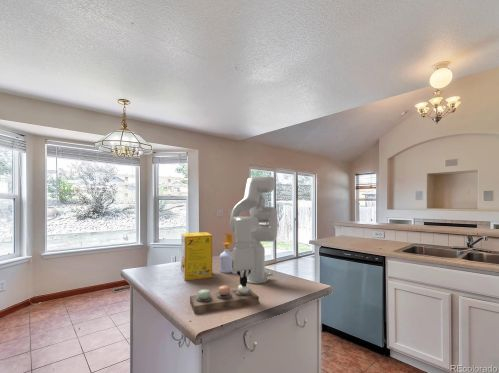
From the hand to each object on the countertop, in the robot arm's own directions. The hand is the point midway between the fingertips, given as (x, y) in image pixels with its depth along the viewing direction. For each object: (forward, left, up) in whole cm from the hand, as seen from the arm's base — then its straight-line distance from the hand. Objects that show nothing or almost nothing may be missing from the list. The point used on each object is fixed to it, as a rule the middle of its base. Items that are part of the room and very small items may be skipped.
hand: (243, 285), depth 118 cm
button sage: (+18, 0, -3) cm, 18 cm away
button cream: (0, 0, -3) cm, 3 cm away
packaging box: (+13, -49, -7) cm, 51 cm away
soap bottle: (-7, -51, -7) cm, 52 cm away
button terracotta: (+9, 0, -2) cm, 9 cm away
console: (+9, 0, -7) cm, 11 cm away
